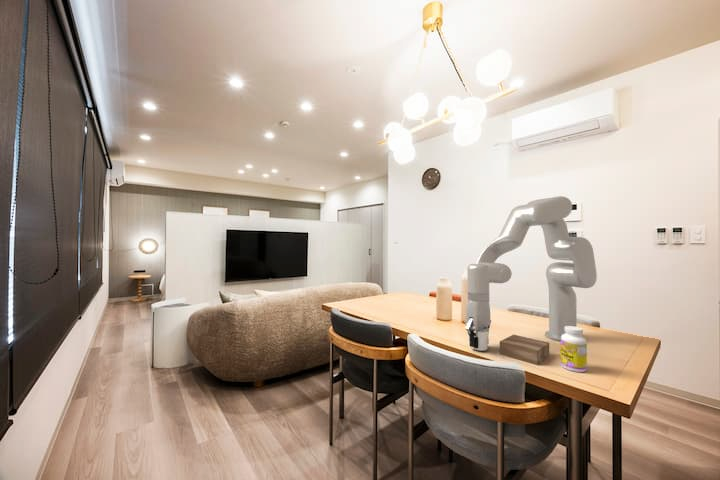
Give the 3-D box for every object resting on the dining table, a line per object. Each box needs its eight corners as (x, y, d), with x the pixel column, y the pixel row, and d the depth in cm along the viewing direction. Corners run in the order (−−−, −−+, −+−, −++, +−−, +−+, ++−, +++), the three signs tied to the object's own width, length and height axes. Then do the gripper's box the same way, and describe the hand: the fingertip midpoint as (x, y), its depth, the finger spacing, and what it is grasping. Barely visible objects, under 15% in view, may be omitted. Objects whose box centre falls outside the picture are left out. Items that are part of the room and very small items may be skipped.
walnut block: (513, 347, 111) (513, 334, 112) (549, 357, 102) (549, 342, 102) (499, 355, 104) (499, 341, 104) (537, 366, 95) (537, 350, 95)
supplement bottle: (555, 364, 95) (555, 325, 95) (574, 363, 96) (574, 324, 96) (572, 373, 89) (572, 331, 89) (592, 372, 89) (592, 330, 89)
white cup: (485, 344, 112) (485, 326, 112) (491, 351, 105) (491, 332, 105) (467, 344, 112) (467, 326, 112) (472, 350, 106) (472, 331, 106)
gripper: (481, 293, 117) (482, 337, 117) (456, 298, 107) (456, 347, 106) (500, 295, 111) (500, 342, 111) (474, 301, 101) (475, 353, 100)
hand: (479, 344), depth 109 cm, fingers closed on white cup, 6 cm apart
